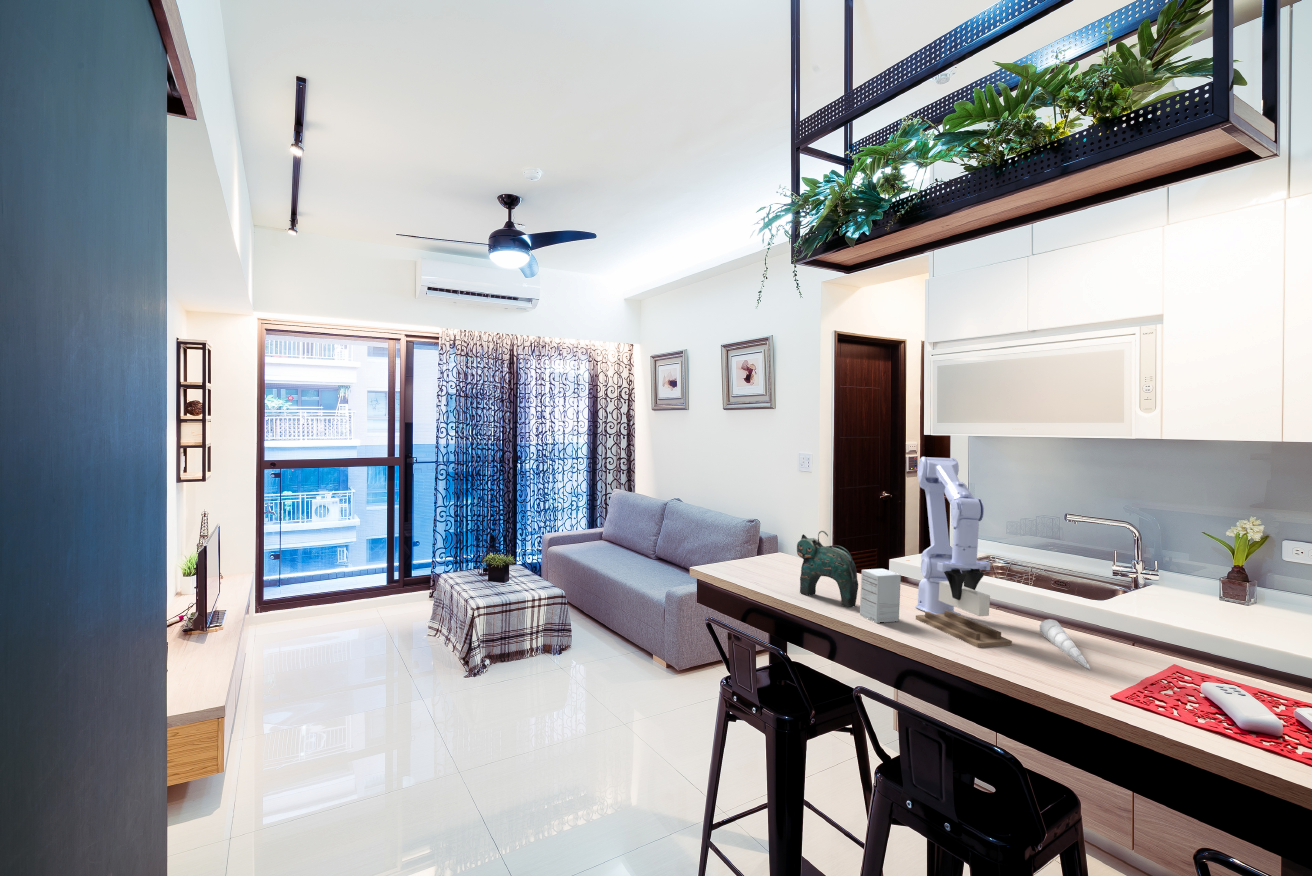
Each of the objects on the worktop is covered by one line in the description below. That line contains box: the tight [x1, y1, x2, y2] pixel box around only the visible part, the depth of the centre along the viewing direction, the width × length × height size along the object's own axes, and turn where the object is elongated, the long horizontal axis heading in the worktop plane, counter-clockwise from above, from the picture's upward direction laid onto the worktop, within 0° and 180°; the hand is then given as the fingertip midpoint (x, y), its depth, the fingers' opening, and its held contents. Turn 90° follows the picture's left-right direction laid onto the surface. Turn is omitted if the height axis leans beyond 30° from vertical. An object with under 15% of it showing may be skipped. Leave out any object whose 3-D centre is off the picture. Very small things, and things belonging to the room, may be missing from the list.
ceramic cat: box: [796, 530, 859, 608], centre depth 188 cm, size 20×6×20 cm, turn 37°
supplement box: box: [859, 568, 902, 624], centre depth 171 cm, size 7×7×13 cm
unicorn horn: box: [1039, 618, 1091, 670], centre depth 151 cm, size 5×24×5 cm, turn 164°
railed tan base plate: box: [915, 611, 1013, 648], centre depth 163 cm, size 22×10×2 cm, turn 16°
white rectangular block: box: [939, 581, 991, 617], centre depth 162 cm, size 14×3×5 cm, turn 16°
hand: (962, 598), depth 162 cm, fingers closed on white rectangular block, 3 cm apart
